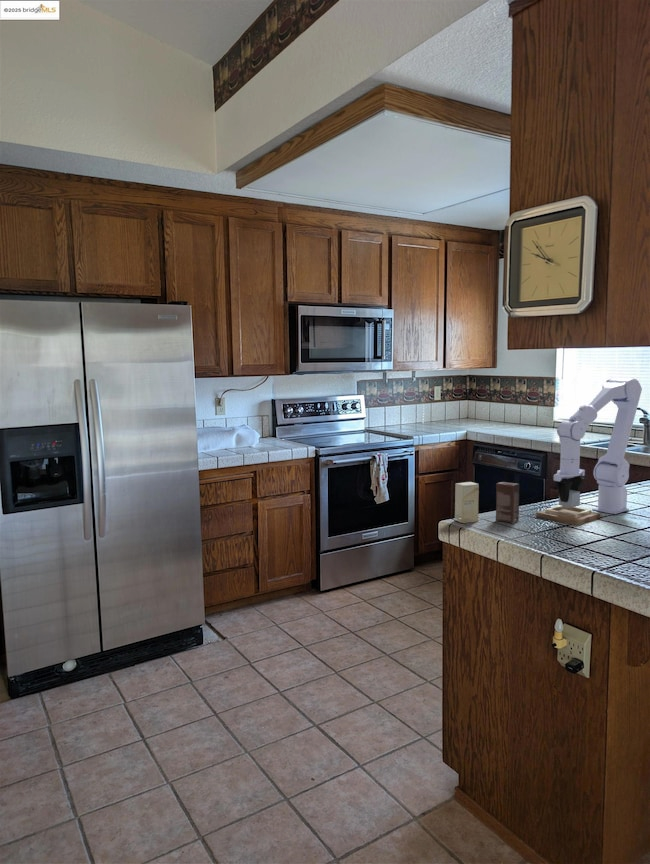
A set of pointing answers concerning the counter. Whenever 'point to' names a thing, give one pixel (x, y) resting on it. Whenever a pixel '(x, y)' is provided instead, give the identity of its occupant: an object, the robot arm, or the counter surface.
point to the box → (507, 502)
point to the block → (571, 499)
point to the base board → (568, 515)
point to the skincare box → (466, 502)
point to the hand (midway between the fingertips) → (568, 500)
